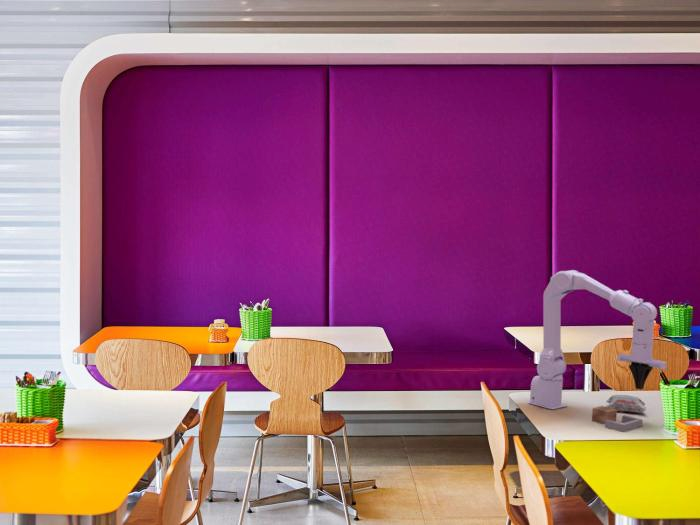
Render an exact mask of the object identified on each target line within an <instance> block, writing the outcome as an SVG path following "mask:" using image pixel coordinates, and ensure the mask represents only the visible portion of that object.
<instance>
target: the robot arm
mask: <svg viewBox="0 0 700 525" xmlns="http://www.w3.org/2000/svg"><path fill="white" fill-rule="evenodd" d="M575 290H587V291H588V292H590V293H592V294H595V295H597V296H599V297H601V298H603V299H604V300H605V299H606V300H607V301H609V305H610V307H612V308H613V309H615V310H617V311H620V312H621V313H623V314H625V315H626V316H629V317H631V319H632V320H633V328H632V339H631V340H632V342H631V353H630V354H624V353H619V354H617V359H616V360H617V362H625V363H626V362H627V363H630V364H628V369H629V370H630V372H631V374H632V377H633V380H634V385H635V386H634V387H635V389H636V390H644V387H645V383H646V381H647V378H648V377H649V375H650V373H651V372H652V370H653V369H654V368H657V369H660V370H666V368H667V361H663V360H658V359H655V358H653V344H654V326H655V324H654V323H655V319H656V318H657V315H658V310H657V308H656V307H655V305H654V304H652V303H651V302H650V301H649V302H647V301H645V302H644V299H643V298H637V297H635V296H634V295H631V294H630V293H629V292H630V291H628V290H627V289H623V290H621V289H618V290H613V289H611V288H610V287H609V286H606V285H605V284H603V283H601V282H599V281H598V280H596V279H594V278H593V277H592V276H591V277H590V276H588V275H587V274H586V273H584V272H583V273H582V272H579V271H578V270H575V269H571V270H570V269H569V270H560V271H558V272H556V273H555V274H554V275H552V276H550V281H549V283H548V284H547V286H546V288H545V290H544V292H543V295H542V296H543V297H542V298H543V304H542V305H543V306H542V308H543V319H542V320H543V324H542V325H543V334H542V335H543V349H542V350H541V352H540V354H539V360H538V364H537V365H536V371H537V374H538V375H536V376H535V375H534V376H533V378H532V380H531V383H530V395H529V398H530V399H529V401H528V404H530V405H535V406H537V407H540V408H541V407H542V408H545V409H549V410H557V409H561V408H565V407H568V406H567V404H565V403H562V397H563V382H564V377H563V374H564V373H565V372H566V370H567V362H566V361H565V358H564V352H563V350H562V348H561V343H562V342H561V337H562V336H561V335H562V332H561V330H562V329H561V328H562V327H561V320H562V318H561V317H562V316H561V307H562V306H561V305H562V304H561V302H562V301H561V300H562V299H563V298H564V297H565V296H566V295H568V294H569V293H571V292H574V291H575Z"/></svg>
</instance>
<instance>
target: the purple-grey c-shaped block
mask: <svg viewBox="0 0 700 525" xmlns="http://www.w3.org/2000/svg"><path fill="white" fill-rule="evenodd" d="M643 422H644V420H643V419H641V418H637V417H633V416H630V415H626V414H624V415H621V422H618V421H616V422H615V421H611V420H605V424H604V428H608V429H610V430H614V429H615V431H618V432H623V433H624V432H628V431H631V430H634V429H638V428H641V427H643Z"/></svg>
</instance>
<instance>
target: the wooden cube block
mask: <svg viewBox="0 0 700 525" xmlns="http://www.w3.org/2000/svg"><path fill="white" fill-rule="evenodd" d="M591 412H592V414H591V422H595V423H598V424H602V425H605V420H611V421H615V422H617V415H618V414H617V413H618V411H617V410H616V409H612V408H610V407H606V406H605V405H604V406H603V405H601V406H597V407H596V406H595V407H593V408H592V411H591Z"/></svg>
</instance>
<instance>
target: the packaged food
mask: <svg viewBox="0 0 700 525" xmlns="http://www.w3.org/2000/svg"><path fill="white" fill-rule="evenodd" d="M605 403H608V404H606V405H605V407H608V408H612V409H616V410H617V412H619V413H620V412H621V413H626V414H627V413H629V414H630V413H631V414H633V413H635V414H636V413H641V412H644V411H645V412H646V411H647V407H646V403H645V402H644V401H642V400H641V398H639V397H638V396H633V395H628V394H627V395H625V394H623V395H622V394H614V395H612V396H610V397H609V398H608V399H607V400H606V402H605Z"/></svg>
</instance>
